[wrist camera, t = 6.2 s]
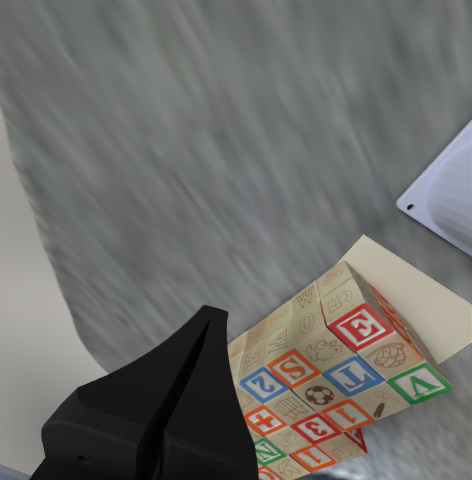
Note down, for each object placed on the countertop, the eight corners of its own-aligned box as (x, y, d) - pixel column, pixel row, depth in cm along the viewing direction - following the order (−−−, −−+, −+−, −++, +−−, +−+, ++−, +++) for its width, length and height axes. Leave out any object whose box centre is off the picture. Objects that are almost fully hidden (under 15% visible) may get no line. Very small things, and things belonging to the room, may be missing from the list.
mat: (498, 321, 21) (500, 323, 21) (308, 449, 31) (308, 451, 31) (363, 234, 20) (364, 235, 20) (215, 395, 30) (214, 397, 30)
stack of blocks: (365, 300, 15) (485, 413, 17) (342, 256, 21) (433, 344, 22) (173, 424, 23) (265, 492, 25) (194, 368, 29) (268, 427, 31)
